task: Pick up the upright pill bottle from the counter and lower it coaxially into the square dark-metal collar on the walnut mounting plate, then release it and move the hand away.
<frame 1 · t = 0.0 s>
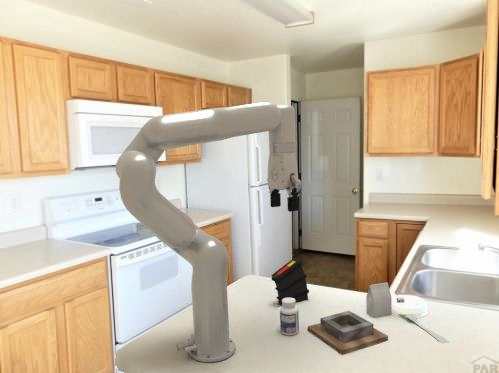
hand: (284, 208, 115), 37 cm above the countertop, tool pointing down, fingers open, 9 cm apart
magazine: (290, 302, 140), on the countertop
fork: (421, 329, 118), on the countertop
grey upright pouch: (378, 314, 128), on the countertop
mount: (346, 334, 115), on the countertop
pill bottle: (289, 332, 118), on the countertop
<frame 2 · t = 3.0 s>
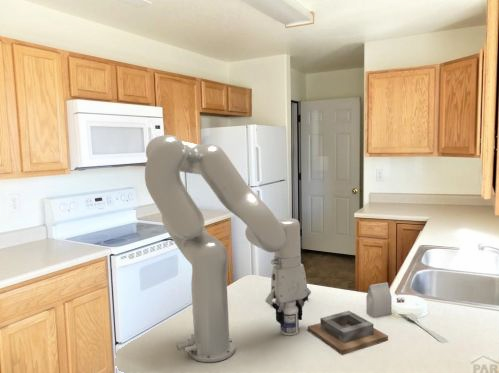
hand: (289, 320, 118), 4 cm above the countertop, tool pointing down, fingers closed on pill bottle, 5 cm apart
pill bottle: (289, 332, 118), on the countertop, touching gripper
everything else where it was.
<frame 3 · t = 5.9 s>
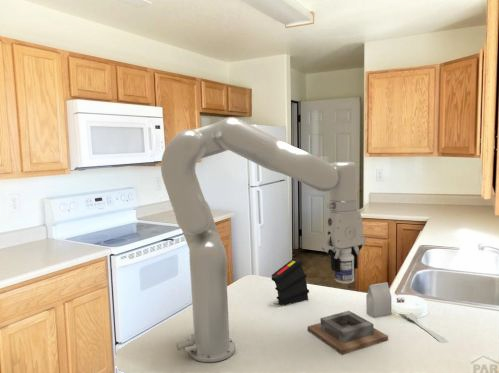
hand: (344, 268, 113), 20 cm above the countertop, tool pointing down, fingers closed on pill bottle, 5 cm apart
pill bottle: (344, 281, 113), point 16 cm above the countertop, touching gripper
everything else where it was.
when the fingers open (6 cm above the countertop, at t = 8.9 s): pill bottle drops 1 cm, resting on mount.
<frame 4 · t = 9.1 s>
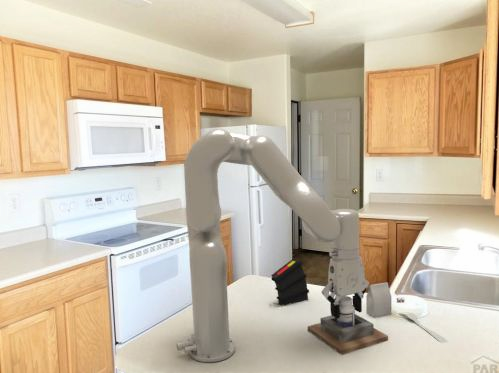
hand: (346, 313, 114), 7 cm above the countertop, tool pointing down, fingers open, 7 cm apart
pill bottle: (345, 331, 114), point 1 cm above the countertop, touching mount
everything else where it was.
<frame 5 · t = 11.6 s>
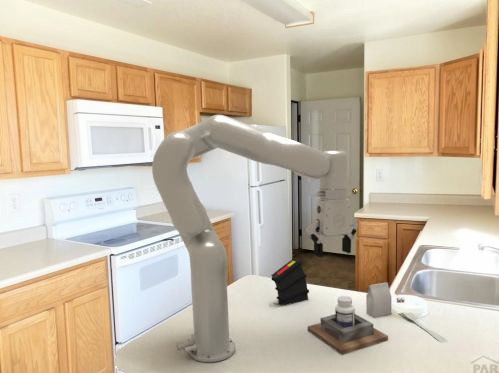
hand: (332, 254, 114), 24 cm above the countertop, tool pointing down, fingers open, 9 cm apart
nothing on the countertop moved.
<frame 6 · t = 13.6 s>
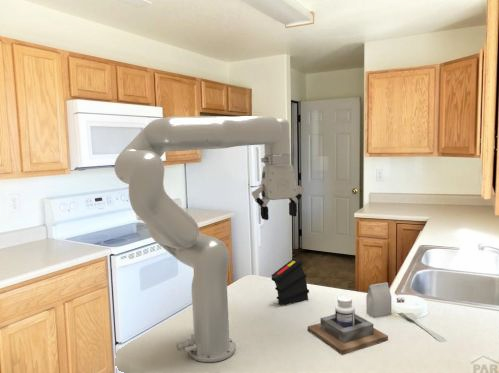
hand: (279, 217, 120), 33 cm above the countertop, tool pointing down, fingers open, 9 cm apart
nothing on the countertop moved.
at the end: pill bottle 0.4 cm off-centre on the mount, point 1.0 cm above the mount's base; pill bottle tilted 0°; the gripper is holding nothing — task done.
